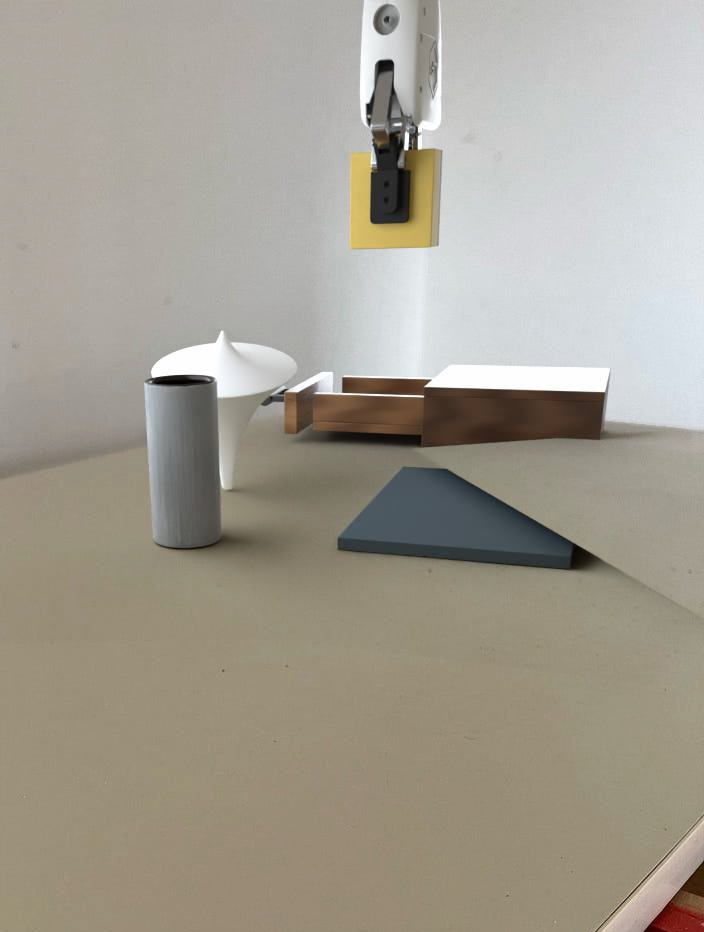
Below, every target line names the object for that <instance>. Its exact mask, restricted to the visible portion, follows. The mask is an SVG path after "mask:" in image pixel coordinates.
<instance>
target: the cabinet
mask: <svg viewBox="0 0 704 932" xmlns="http://www.w3.org/2000/svg"><path fill="white" fill-rule="evenodd" d="M611 370H612V369H611V367H576V366H575V367H574V366H573V367H567V366H526V365H525V366H524V365H522V366H521V365H480V364H479V365H477V364H474V365H473V364H450V365H449V366H448V367H446V368H445V369H443V371H441V372H440V373H439V374H438V375H436V376H435V377H433V378H434V379H433V380H432V381H431V382H429V383H428V384H427V385H426V386H425V387H424V397H423V419H422V435H421V441H420V442H421V445H420V448H422V449H424V448H438V447H439V448H441V447H451V446H452V447H453V446H468V445H482V444H495V443H497V444H498V443H509V442H524V441H538V440H540V441H541V440H552V439H566V440H567V439H568V440H587V441H588V440H589V441H591V440H592V441H600V440H601V437H602V436H603V435H604V430H605V422H606V413H607V406H608V405H607V404H608V396H609V388H610V377H611Z"/></svg>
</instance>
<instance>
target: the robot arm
mask: <svg viewBox="0 0 704 932" xmlns="http://www.w3.org/2000/svg"><path fill="white" fill-rule="evenodd" d="M440 1H441V0H363V7H362V8H363V9H362V16H361V21H362V24H361V37H360V38H361V39H360V62H359V63H360V68H359V109H360V118H361V122H362V124H364V126H366V127H367V128H368V129H370V132H371V136H372V137H371V152H372V153H371V170H372V172H371V190H370V221H371V223H372V224H393V223H406V222H407V221H408V220H409V206H410V174H411V170H406V167H407V155H408V150H414V149H422V129H425V130H428V131H435V130H436V129H438V127H439V126H440V125H441V122H442V121H441V120H442V19H441V16H442V15H441V2H440ZM376 171H378V172H376Z"/></svg>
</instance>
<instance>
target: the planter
mask: <svg viewBox="0 0 704 932" xmlns="http://www.w3.org/2000/svg"><path fill="white" fill-rule="evenodd" d="M143 387H144V388H143V389H144V390H143V391H144V407H145V423H146V426H145V427H146V440H147V441H146V443H147V458H148V461H147V462H148V476H149V478H148V479H149V494H150V510H151V530H152V538H153V541H154V543H156V544H157V545H160V546H163V547H166V548H173V549H195V548H201V547H207V546H210V545H213V544H215V543H217V542H220V540H221V539H222V501H221V500H222V499H221V498H222V497H221V496H222V495H221V479H220V463H219V431H218V398H217V380H216V378H214V377H212V376H207V375H193V374H184V375H167V376H159V377H150V378H147V379H146V380H144V382H143Z"/></svg>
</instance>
